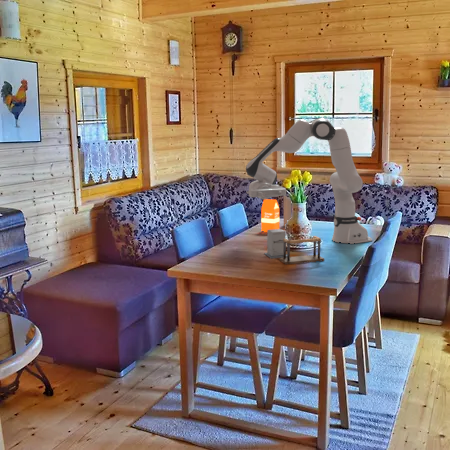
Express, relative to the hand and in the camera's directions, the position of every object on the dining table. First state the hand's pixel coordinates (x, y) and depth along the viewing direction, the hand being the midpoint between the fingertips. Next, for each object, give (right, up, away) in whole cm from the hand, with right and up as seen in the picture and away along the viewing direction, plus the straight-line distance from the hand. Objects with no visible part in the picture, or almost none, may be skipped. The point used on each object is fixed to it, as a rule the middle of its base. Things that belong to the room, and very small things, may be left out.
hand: (272, 194), depth 290 cm
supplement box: (+2, -31, -6) cm, 32 cm away
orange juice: (+4, -20, +54) cm, 58 cm away
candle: (+20, -17, +69) cm, 74 cm away
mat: (+2, -32, -6) cm, 32 cm away
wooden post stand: (+13, -32, -17) cm, 39 cm away
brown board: (+13, -34, -17) cm, 40 cm away
